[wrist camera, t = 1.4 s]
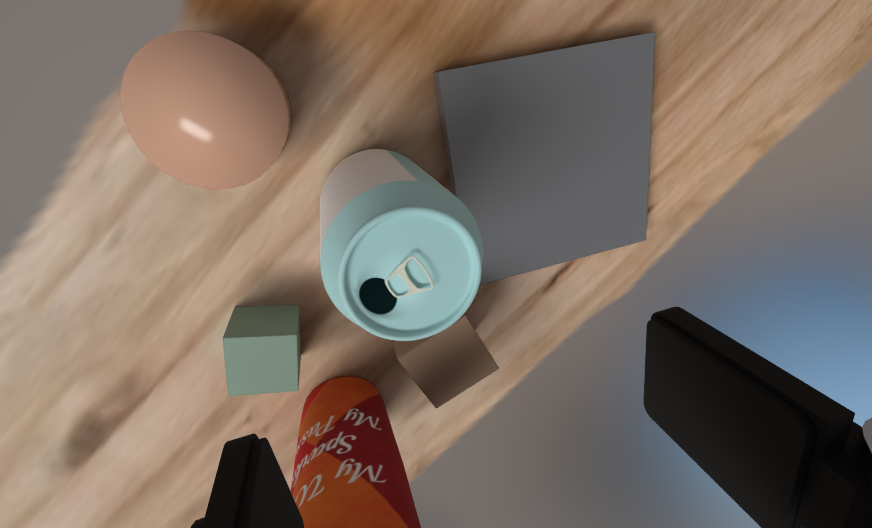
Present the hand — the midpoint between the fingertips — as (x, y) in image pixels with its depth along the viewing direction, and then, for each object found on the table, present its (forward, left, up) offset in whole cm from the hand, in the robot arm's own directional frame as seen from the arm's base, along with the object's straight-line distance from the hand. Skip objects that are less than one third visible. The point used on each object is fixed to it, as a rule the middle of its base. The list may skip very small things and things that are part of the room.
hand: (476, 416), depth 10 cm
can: (0, 0, -20) cm, 20 cm away
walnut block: (+10, +2, -20) cm, 22 cm away
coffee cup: (+15, -6, -20) cm, 25 cm away
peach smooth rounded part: (-7, -7, -20) cm, 22 cm away
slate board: (0, +12, -20) cm, 23 cm away
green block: (+7, -9, -20) cm, 23 cm away
